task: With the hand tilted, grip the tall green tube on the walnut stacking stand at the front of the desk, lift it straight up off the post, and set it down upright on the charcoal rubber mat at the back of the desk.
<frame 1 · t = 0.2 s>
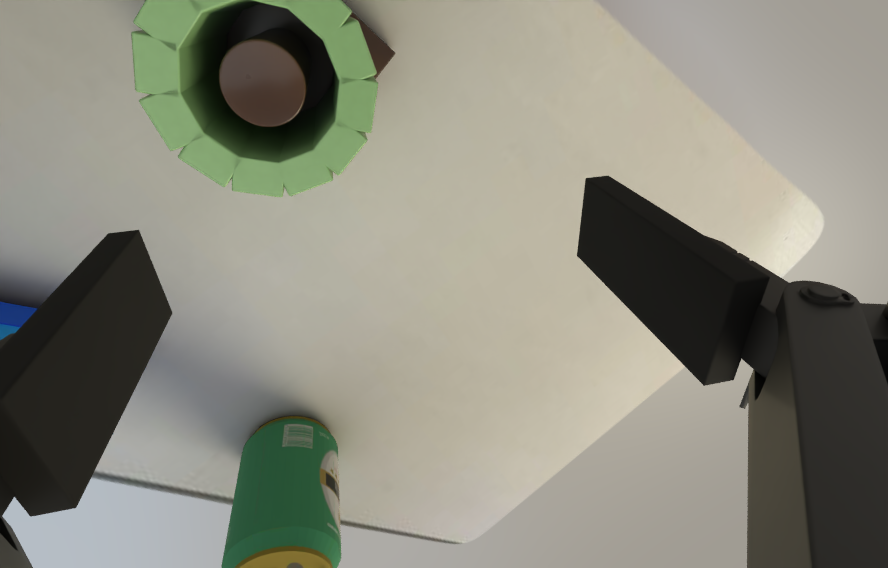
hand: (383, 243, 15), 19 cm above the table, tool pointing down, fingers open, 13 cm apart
stacking stand: (283, 58, 28), on the table
green tube: (281, 60, 27), point 1 cm above the table, touching stacking stand
toy car: (33, 326, 33), on the table
beverage can: (291, 443, 43), on the table
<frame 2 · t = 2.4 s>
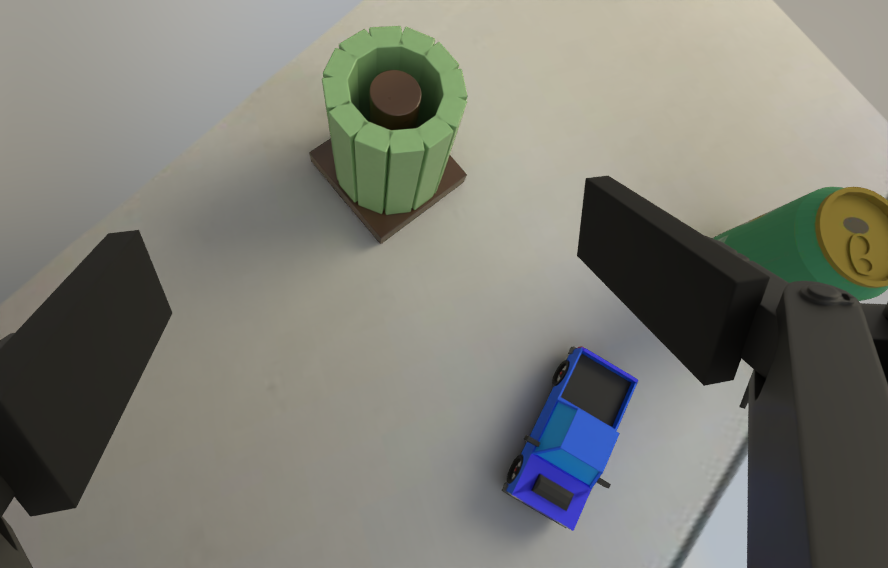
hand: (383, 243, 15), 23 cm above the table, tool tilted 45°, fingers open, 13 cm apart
stacking stand: (388, 171, 40), on the table
green tube: (389, 163, 39), point 1 cm above the table, touching stacking stand
toy car: (561, 431, 38), on the table
beverage can: (730, 279, 43), on the table
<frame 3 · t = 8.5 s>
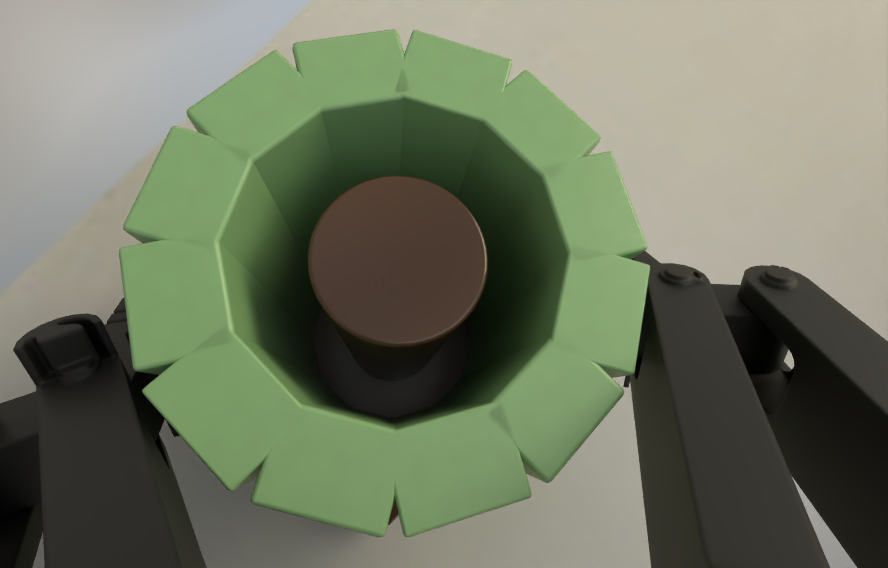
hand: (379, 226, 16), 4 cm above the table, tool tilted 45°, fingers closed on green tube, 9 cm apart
stacking stand: (392, 341, 19), on the table
green tube: (393, 336, 18), point 2 cm above the table, touching gripper, stacking stand
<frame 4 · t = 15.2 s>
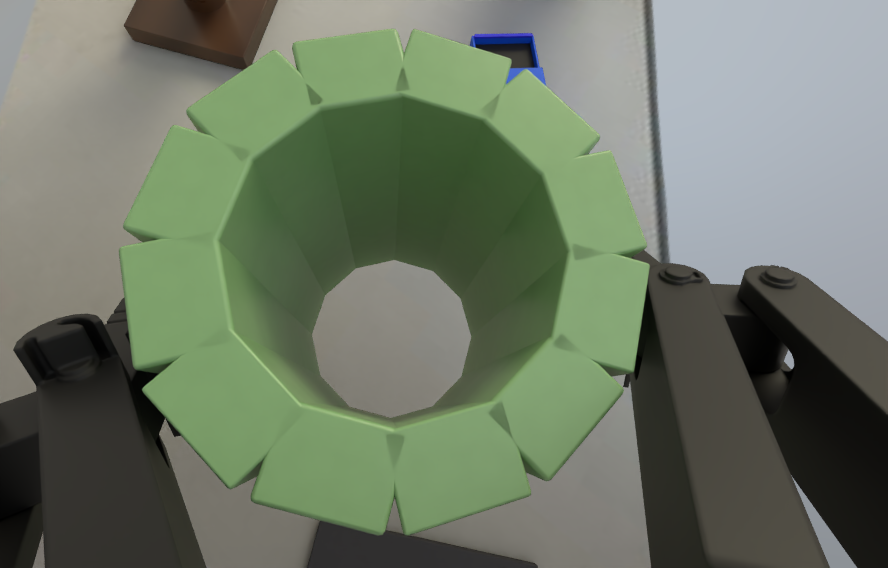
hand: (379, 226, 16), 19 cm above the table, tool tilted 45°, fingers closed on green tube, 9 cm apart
stacking stand: (211, 10, 38), on the table
green tube: (393, 335, 18), point 16 cm above the table, touching gripper
toy car: (504, 124, 39), on the table
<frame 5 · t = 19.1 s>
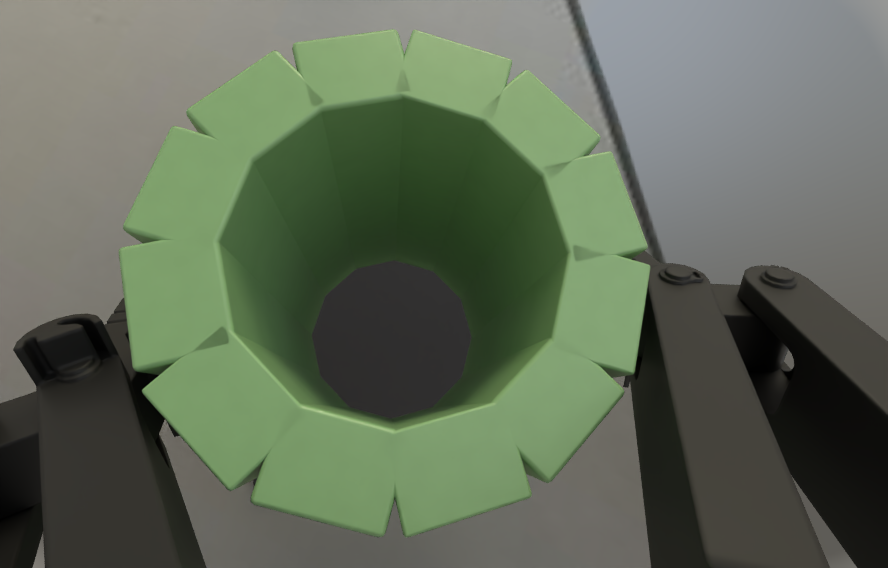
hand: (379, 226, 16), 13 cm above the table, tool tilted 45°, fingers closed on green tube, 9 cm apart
rubber mat: (389, 362, 27), on the table
green tube: (393, 336, 18), point 10 cm above the table, touching gripper
when the fingers open (3 cm above the table, at t = 22.2 s): green tube stays where it is, resting on rubber mat.
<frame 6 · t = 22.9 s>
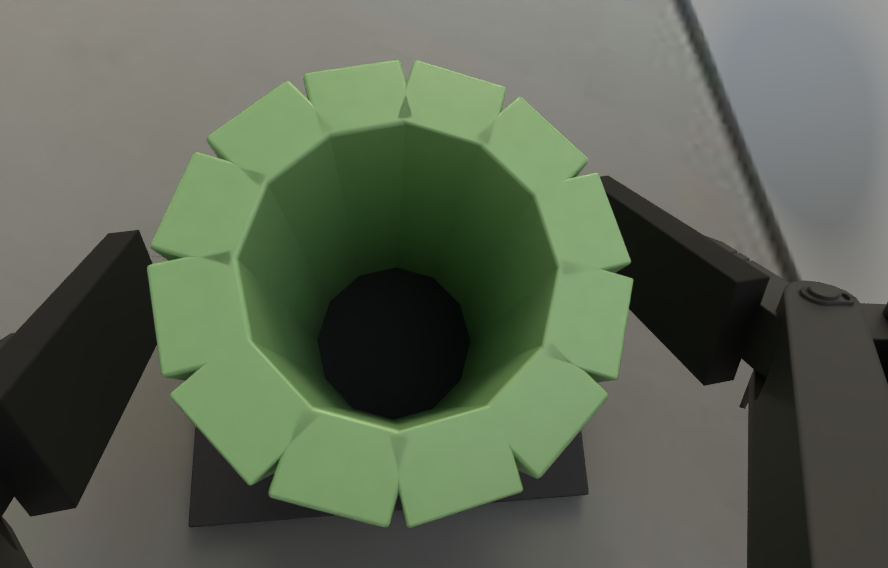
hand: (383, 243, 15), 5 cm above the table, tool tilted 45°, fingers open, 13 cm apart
rubber mat: (393, 342, 19), on the table
green tube: (395, 340, 18), point 1 cm above the table, touching rubber mat
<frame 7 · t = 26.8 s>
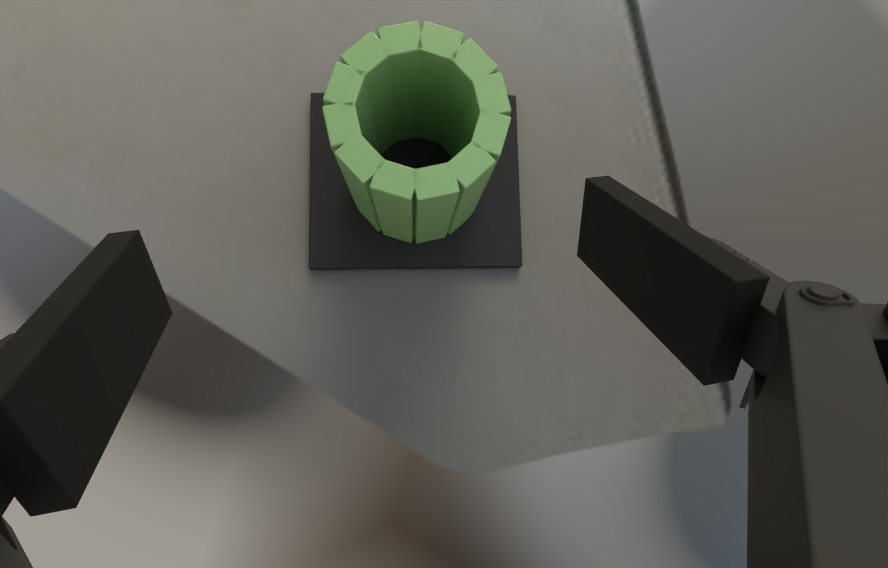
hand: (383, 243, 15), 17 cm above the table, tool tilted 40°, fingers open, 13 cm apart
rubber mat: (415, 181, 33), on the table
green tube: (416, 179, 32), point 1 cm above the table, touching rubber mat
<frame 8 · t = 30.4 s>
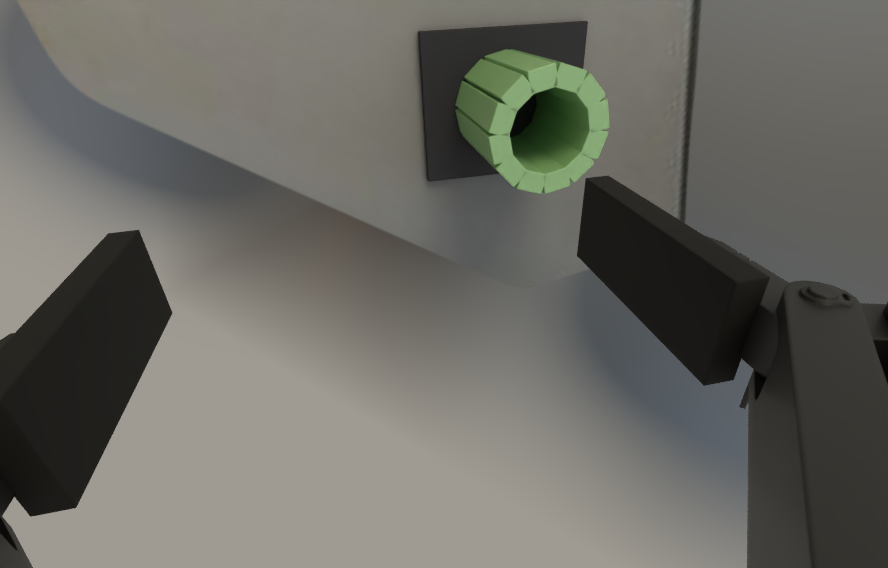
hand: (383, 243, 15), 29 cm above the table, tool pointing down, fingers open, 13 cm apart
rubber mat: (502, 104, 42), on the table
green tube: (504, 105, 41), point 1 cm above the table, touching rubber mat
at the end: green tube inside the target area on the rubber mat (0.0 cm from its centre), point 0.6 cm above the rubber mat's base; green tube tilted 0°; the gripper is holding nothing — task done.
